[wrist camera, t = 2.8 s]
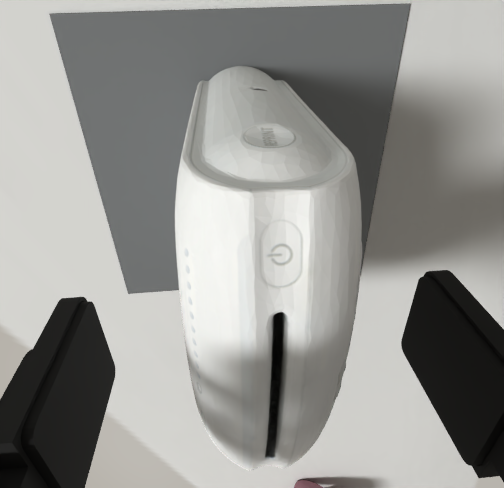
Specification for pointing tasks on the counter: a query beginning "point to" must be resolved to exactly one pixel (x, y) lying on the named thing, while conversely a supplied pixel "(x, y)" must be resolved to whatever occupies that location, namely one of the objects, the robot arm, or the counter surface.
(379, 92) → the dark gray panel
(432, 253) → the counter surface
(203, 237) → the photo printer
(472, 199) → the counter surface
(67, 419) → the robot arm
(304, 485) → the video game controller
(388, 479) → the counter surface
